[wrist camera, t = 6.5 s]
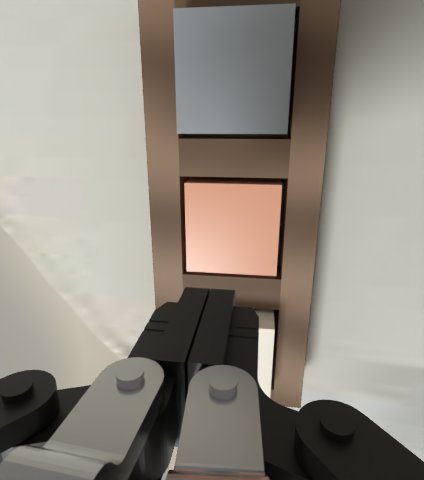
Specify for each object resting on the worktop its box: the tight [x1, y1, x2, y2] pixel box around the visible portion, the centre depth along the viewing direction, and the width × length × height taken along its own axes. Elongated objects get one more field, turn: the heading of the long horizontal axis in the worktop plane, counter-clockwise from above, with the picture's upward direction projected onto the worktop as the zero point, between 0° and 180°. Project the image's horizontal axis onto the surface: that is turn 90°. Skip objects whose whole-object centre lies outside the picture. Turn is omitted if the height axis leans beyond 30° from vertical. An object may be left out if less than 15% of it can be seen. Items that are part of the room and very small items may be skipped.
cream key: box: [253, 308, 275, 398], centre depth 21 cm, size 5×5×2 cm
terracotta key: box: [184, 177, 282, 276], centre depth 20 cm, size 5×5×2 cm
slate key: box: [173, 3, 296, 134], centre depth 16 cm, size 5×5×2 cm
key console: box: [138, 0, 341, 408], centre depth 21 cm, size 23×9×3 cm, turn 0°
